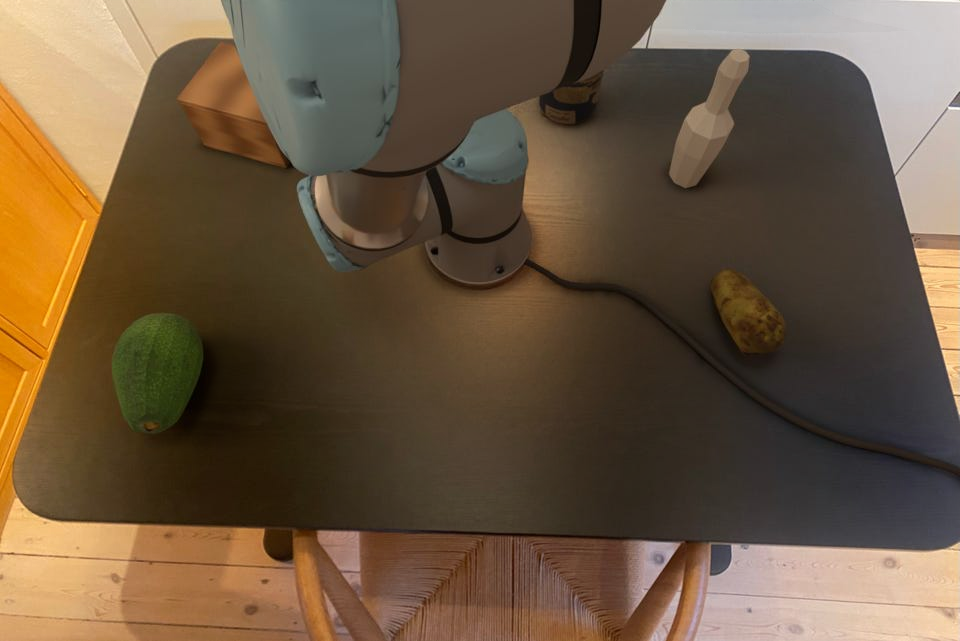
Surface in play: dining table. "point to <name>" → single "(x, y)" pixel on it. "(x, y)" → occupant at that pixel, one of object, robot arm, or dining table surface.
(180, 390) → the fruit
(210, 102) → the cabinet
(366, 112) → the robot arm
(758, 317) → the potato
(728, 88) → the bowling pin
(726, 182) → the dining table surface
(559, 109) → the canister
